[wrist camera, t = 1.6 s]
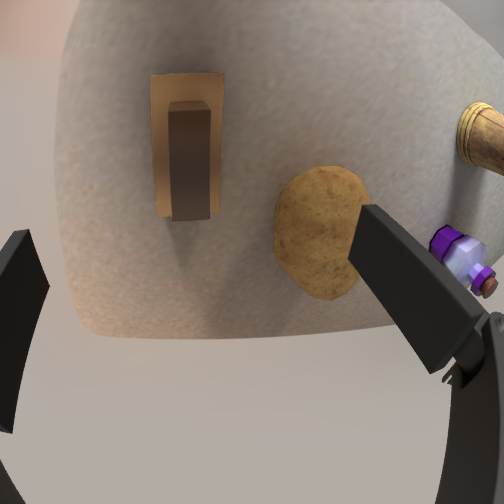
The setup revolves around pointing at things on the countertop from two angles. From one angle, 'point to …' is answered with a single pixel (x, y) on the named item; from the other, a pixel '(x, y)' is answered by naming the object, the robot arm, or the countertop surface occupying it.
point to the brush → (187, 143)
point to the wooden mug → (482, 137)
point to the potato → (319, 230)
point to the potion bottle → (464, 259)
